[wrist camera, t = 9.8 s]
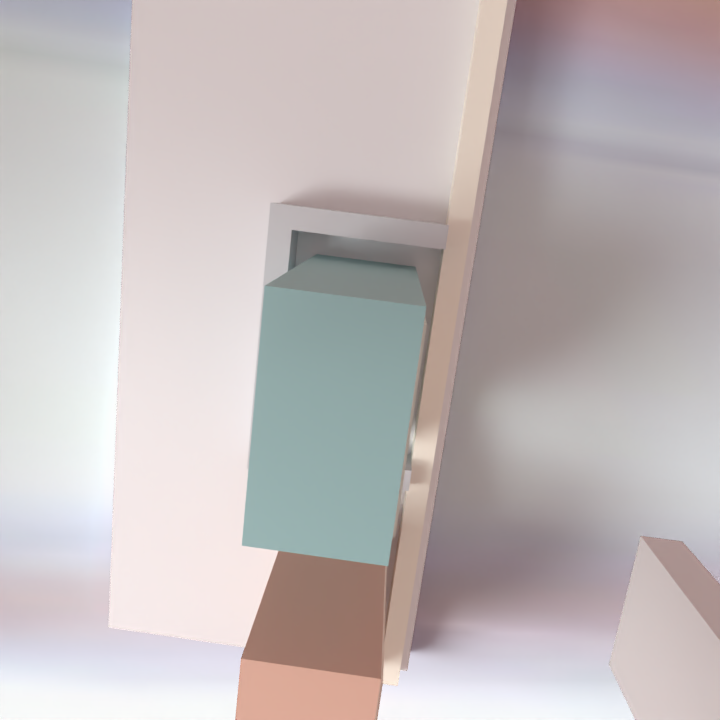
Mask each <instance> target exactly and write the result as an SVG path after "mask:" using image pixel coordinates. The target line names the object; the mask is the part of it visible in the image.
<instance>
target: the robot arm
mask: <svg viewBox="0 0 720 720" xmlns="http://www.w3.org/2000/svg"><path fill="white" fill-rule="evenodd" d="M609 666H610V668H611V670H612V672H613V674H614V676H615V678H616V680H617V682H618V685H619V687H620V689H621V691H622V693H623V695H624V697H625V699H626V701H627V704H628V706H629V708H630V710H631V712H632V714H633V716H634V718H635V720H720V584H719V583H718V582H717V581H716V580H715V579H714V577H713V576H712V575H711V574H710V573H709V572H708V570H707V569H706V568H705V567H704V566H703V565H702V564H701V562H700V561H699V560H698V559H697V558H696V557H695V555H694V554H693V553H692V552H691V551H690V550H689V549H688V547H687V546H686V545H685V544H684V543H683V542H682V541H675V540H667V539H660V538H652V537H645V536H641V537H640V541H639V545H638V549H637V553H636V557H635V561H634V565H633V569H632V573H631V577H630V581H629V585H628V590H627V594H626V598H625V602H624V606H623V610H622V614H621V618H620V622H619V626H618V630H617V634H616V638H615V642H614V646H613V650H612V654H611V658H610V662H609Z"/></svg>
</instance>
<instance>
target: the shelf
mask: <svg viewBox="0 0 720 720" xmlns="http://www.w3.org/2000/svg"><path fill="white" fill-rule="evenodd" d="M515 6H516V0H132V17H131V44H130V70H129V97H128V123H127V150H126V176H125V203H124V229H123V256H122V282H121V309H120V335H119V362H118V388H117V415H116V441H115V468H114V494H113V521H112V547H111V574H110V600H109V627H108V628H115V629H122V630H129V631H136V632H143V633H149V634H156V635H163V636H170V637H177V638H184V639H190V640H197V641H204V642H211V643H218V644H225V645H232V646H238V647H245V646H246V643H247V640H248V637H249V634H250V631H251V629H252V626H253V623H254V620H255V617H256V614H257V611H258V608H259V605H260V603H261V600H262V597H263V594H264V591H265V588H266V585H267V582H268V580H269V577H270V574H271V571H272V568H273V565H274V562H275V559H276V556H277V554H278V551H276V550H269V549H262V548H255V547H248V546H242V536H243V525H244V514H245V502H246V491H247V480H248V468H249V457H250V446H251V434H252V423H253V412H254V400H255V389H256V378H257V366H258V355H259V344H260V332H261V321H262V310H263V298H264V287H265V285H267V284H268V283H270V282H271V281H273V280H275V279H276V278H278V277H280V276H281V275H283V274H285V273H286V272H288V271H290V270H291V269H293V268H295V267H296V266H298V265H300V264H301V263H303V262H305V261H306V260H308V259H310V258H311V257H313V256H315V255H316V254H320V255H328V256H336V257H343V258H351V259H359V260H367V261H375V262H382V263H390V264H398V265H406V266H414V267H416V271H417V274H418V278H419V282H420V285H421V289H422V292H423V296H424V300H425V303H426V313H425V318H426V323H427V327H426V333H425V340H424V347H423V354H422V360H421V367H420V374H419V380H418V387H417V394H416V401H415V407H414V414H413V421H412V428H411V434H410V441H409V448H408V455H407V461H406V468H405V475H404V481H403V488H402V495H401V502H400V508H399V515H398V522H397V529H396V535H395V538H394V537H392V543H391V550H390V557H389V564H388V566H387V575H386V606H385V637H384V668H383V684H388V685H395V686H398V681H399V674H400V670H403V671H407V669H408V663H409V656H410V650H411V644H412V638H413V632H414V626H415V620H416V614H417V607H418V601H419V595H420V589H421V583H422V577H423V571H424V564H425V558H426V552H427V546H428V540H429V534H430V528H431V522H432V515H433V509H434V503H435V497H436V491H437V485H438V479H439V472H440V466H441V460H442V454H443V448H444V442H445V436H446V430H447V423H448V417H449V411H450V405H451V399H452V393H453V387H454V380H455V374H456V368H457V362H458V356H459V350H460V344H461V338H462V331H463V325H464V319H465V313H466V307H467V301H468V295H469V289H470V282H471V276H472V270H473V264H474V258H475V252H476V246H477V239H478V233H479V227H480V221H481V215H482V209H483V203H484V197H485V190H486V184H487V178H488V172H489V166H490V160H491V154H492V147H493V141H494V135H495V129H496V123H497V117H498V111H499V105H500V98H501V92H502V86H503V80H504V74H505V68H506V62H507V55H508V49H509V43H510V37H511V31H512V25H513V19H514V13H515Z"/></svg>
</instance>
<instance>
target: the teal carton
mask: <svg viewBox="0 0 720 720" xmlns="http://www.w3.org/2000/svg"><path fill="white" fill-rule="evenodd" d="M425 313H426V303H425V300H424V296H423V292H422V289H421V285H420V282H419V278H418V274H417V271H416V267H414V266H406V265H398V264H390V263H382V262H375V261H367V260H359V259H351V258H343V257H336V256H328V255H320V254H316V255H315V256H313V257H311V258H310V259H308V260H306V261H305V262H303V263H301V264H300V265H298V266H296V267H295V268H293V269H291V270H290V271H288V272H286V273H285V274H283V275H281V276H280V277H278V278H276V279H275V280H273V281H271V282H270V283H268V284H267V285H265V287H264V298H263V310H262V321H261V332H260V344H259V355H258V366H257V378H256V389H255V400H254V412H253V423H252V434H251V446H250V457H249V468H248V480H247V491H246V502H245V514H244V525H243V536H242V546H248V547H255V548H262V549H269V550H276V551H283V552H290V553H297V554H304V555H312V556H319V557H326V558H333V559H340V560H347V561H354V562H361V563H368V564H375V565H383V566H388V564H389V557H390V550H391V543H392V537H394V538H395V535H396V529H397V522H398V515H399V508H400V502H401V495H402V488H403V481H404V475H405V468H406V461H407V455H408V448H409V441H410V434H411V428H412V421H413V414H414V407H415V401H416V394H417V387H418V380H419V374H420V367H421V360H422V354H423V347H424V340H425V333H426V327H427V323H426V318H425Z"/></svg>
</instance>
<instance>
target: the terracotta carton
mask: <svg viewBox="0 0 720 720" xmlns="http://www.w3.org/2000/svg"><path fill="white" fill-rule="evenodd" d="M386 575H387V566H383V565H375V564H368V563H361V562H354V561H347V560H340V559H333V558H326V557H319V556H312V555H304V554H297V553H290V552H283V551H278V554H277V556H276V559H275V562H274V565H273V568H272V571H271V574H270V577H269V580H268V582H267V585H266V588H265V591H264V594H263V597H262V600H261V603H260V605H259V608H258V611H257V614H256V617H255V620H254V623H253V626H252V629H251V631H250V634H249V637H248V640H247V643H246V646H245V649H244V652H243V654H242V657H241V665H240V675H239V686H238V697H237V708H236V718H235V720H377V717H378V710H379V704H380V697H381V691H382V684H383V668H384V637H385V606H386Z"/></svg>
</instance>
